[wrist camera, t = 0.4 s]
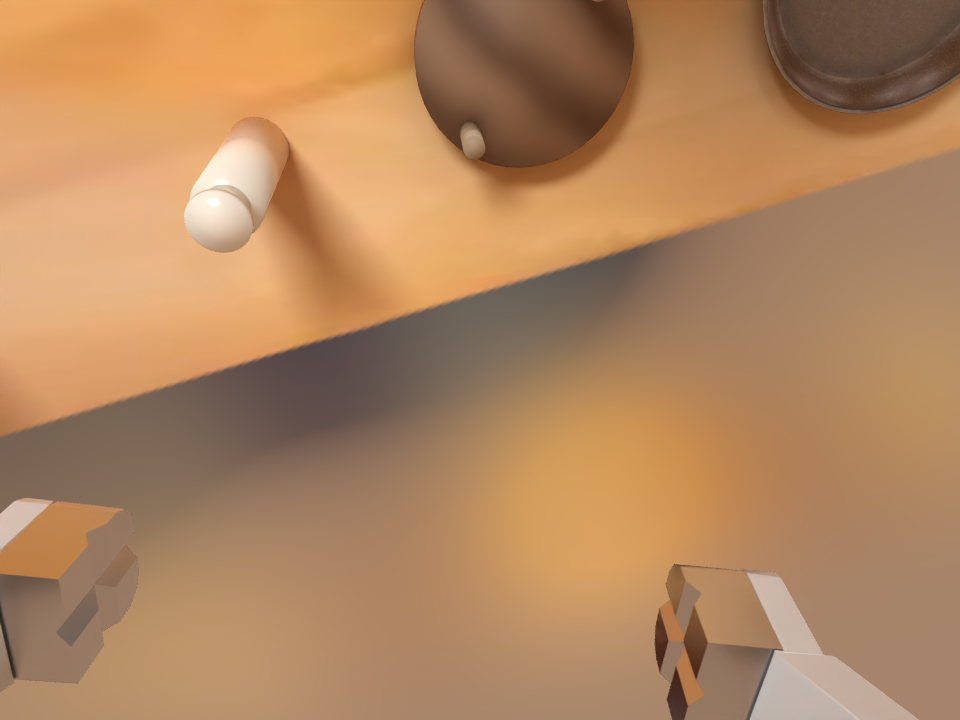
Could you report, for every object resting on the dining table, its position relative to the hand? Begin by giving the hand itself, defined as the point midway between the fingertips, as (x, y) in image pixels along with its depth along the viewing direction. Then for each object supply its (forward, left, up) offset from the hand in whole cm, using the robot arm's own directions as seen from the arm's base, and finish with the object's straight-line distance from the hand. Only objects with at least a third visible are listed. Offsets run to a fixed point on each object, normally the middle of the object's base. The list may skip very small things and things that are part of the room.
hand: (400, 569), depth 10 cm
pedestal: (-3, +8, -49) cm, 49 cm away
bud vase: (+15, -4, -49) cm, 51 cm away
